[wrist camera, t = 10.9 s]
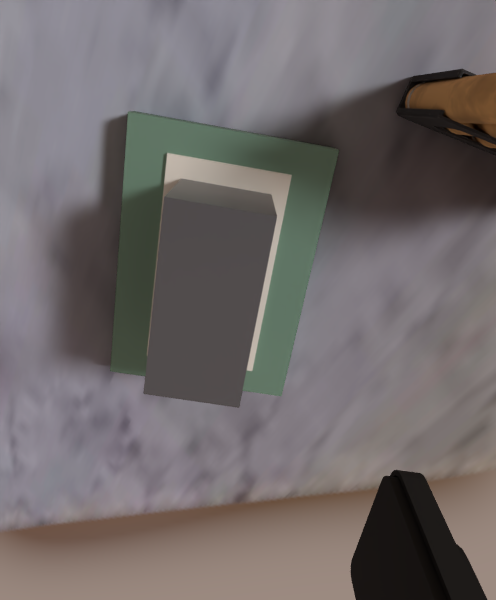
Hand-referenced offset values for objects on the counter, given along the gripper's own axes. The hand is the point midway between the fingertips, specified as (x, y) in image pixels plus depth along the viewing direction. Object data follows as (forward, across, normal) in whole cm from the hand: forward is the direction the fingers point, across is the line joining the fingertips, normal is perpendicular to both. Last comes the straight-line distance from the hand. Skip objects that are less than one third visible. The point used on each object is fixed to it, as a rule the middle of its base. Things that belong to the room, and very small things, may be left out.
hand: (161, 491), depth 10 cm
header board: (+17, 0, +1) cm, 17 cm away
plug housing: (+15, 0, +1) cm, 15 cm away
